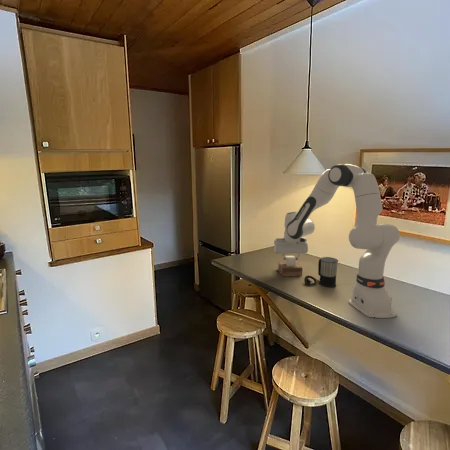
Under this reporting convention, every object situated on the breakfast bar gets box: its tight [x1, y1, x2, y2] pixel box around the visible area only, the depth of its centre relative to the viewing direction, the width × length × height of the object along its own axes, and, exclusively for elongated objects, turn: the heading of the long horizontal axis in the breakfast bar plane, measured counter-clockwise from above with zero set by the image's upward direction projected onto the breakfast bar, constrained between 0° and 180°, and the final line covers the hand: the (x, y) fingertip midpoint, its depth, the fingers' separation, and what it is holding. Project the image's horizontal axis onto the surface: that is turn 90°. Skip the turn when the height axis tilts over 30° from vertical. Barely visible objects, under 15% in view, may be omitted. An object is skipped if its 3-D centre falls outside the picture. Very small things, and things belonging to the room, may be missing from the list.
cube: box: [284, 255, 297, 266], centre depth 194 cm, size 5×5×5 cm
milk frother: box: [303, 256, 339, 289], centre depth 175 cm, size 14×16×15 cm
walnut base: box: [277, 261, 303, 277], centre depth 195 cm, size 12×12×5 cm
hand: (290, 259), depth 193 cm, fingers open, 6 cm apart
